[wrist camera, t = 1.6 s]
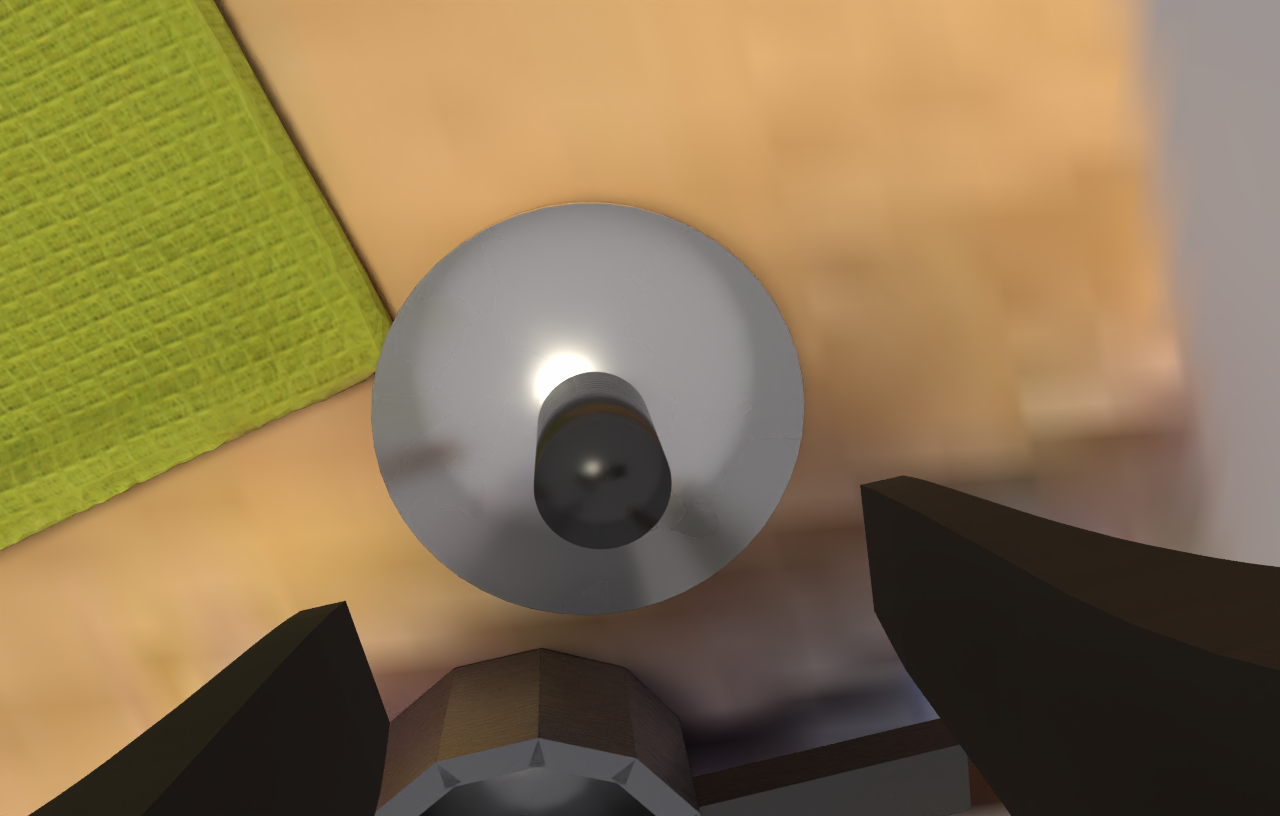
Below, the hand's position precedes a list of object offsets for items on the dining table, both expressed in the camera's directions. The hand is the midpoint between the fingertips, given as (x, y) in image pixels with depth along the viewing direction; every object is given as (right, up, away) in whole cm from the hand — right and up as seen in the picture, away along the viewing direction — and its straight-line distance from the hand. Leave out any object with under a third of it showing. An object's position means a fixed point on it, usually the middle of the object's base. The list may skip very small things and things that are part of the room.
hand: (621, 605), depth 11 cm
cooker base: (0, -8, +12) cm, 14 cm away
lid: (-1, +3, +9) cm, 9 cm away
